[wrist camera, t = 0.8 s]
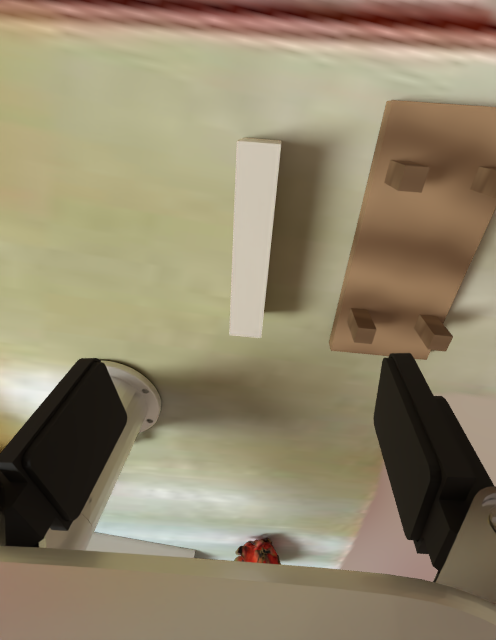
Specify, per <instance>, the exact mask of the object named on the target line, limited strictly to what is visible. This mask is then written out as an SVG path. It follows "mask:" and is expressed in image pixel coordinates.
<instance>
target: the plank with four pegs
mask: <svg viewBox="0 0 496 640" xmlns="http://www.w3.org/2000/svg"><path fill="white" fill-rule="evenodd" d="M495 208H496V107H485V106H471V105H456V104H441V103H426V102H411V101H396V100H392V101H387V102H386V106H385V111H384V115H383V119H382V123H381V127H380V132H379V136H378V140H377V144H376V148H375V152H374V157H373V161H372V165H371V169H370V173H369V177H368V182H367V186H366V190H365V194H364V198H363V202H362V207H361V211H360V215H359V219H358V223H357V228H356V232H355V236H354V240H353V244H352V248H351V253H350V257H349V261H348V265H347V269H346V273H345V278H344V282H343V286H342V290H341V294H340V298H339V303H338V307H337V311H336V315H335V319H334V323H333V328H332V332H331V336H330V340H329V344H330V349H331V351H342V352H352V353H362V354H372V355H383V356H389V355H390V354H391V353H411V354H412V356H413V357H414V359H424V360H427V358H428V355H429V353H430V351H431V350H438V351H446V350H447V348H448V346H449V344H450V342H451V340H452V338H453V336H452V335H451V333H450V332H449V331H448V330H447V328H446V327H445V326H444V325H443V322H444V320H445V318H446V316H447V314H448V311H449V309H450V307H451V305H452V303H453V300H454V298H455V296H456V294H457V292H458V289H459V287H460V285H461V283H462V281H463V278H464V276H465V274H466V272H467V270H468V267H469V265H470V263H471V261H472V259H473V257H474V254H475V252H476V250H477V248H478V246H479V243H480V241H481V239H482V237H483V235H484V232H485V230H486V228H487V226H488V224H489V221H490V219H491V217H492V215H493V213H494V210H495Z"/></svg>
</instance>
